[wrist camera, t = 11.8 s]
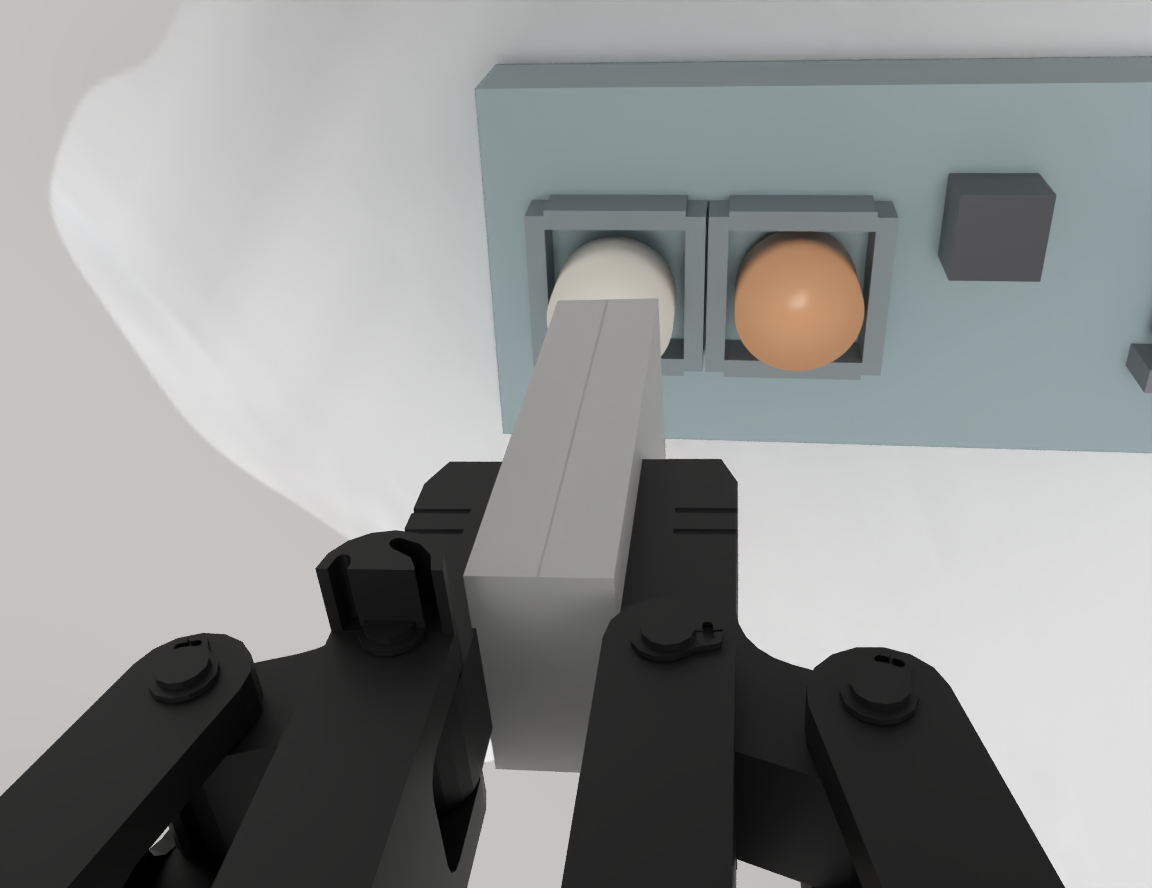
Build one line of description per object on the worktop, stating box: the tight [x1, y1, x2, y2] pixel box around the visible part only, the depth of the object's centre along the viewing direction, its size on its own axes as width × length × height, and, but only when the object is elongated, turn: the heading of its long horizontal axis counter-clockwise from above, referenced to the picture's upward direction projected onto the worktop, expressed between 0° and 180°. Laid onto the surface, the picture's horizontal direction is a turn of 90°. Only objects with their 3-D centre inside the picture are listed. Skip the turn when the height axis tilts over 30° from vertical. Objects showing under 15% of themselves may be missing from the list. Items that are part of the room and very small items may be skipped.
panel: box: [475, 56, 1152, 453], centre depth 41 cm, size 14×29×6 cm, turn 92°
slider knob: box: [938, 173, 1057, 282], centre depth 38 cm, size 3×3×2 cm
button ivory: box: [547, 236, 676, 356], centre depth 39 cm, size 4×4×2 cm
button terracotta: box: [735, 231, 864, 371], centre depth 39 cm, size 4×4×2 cm
